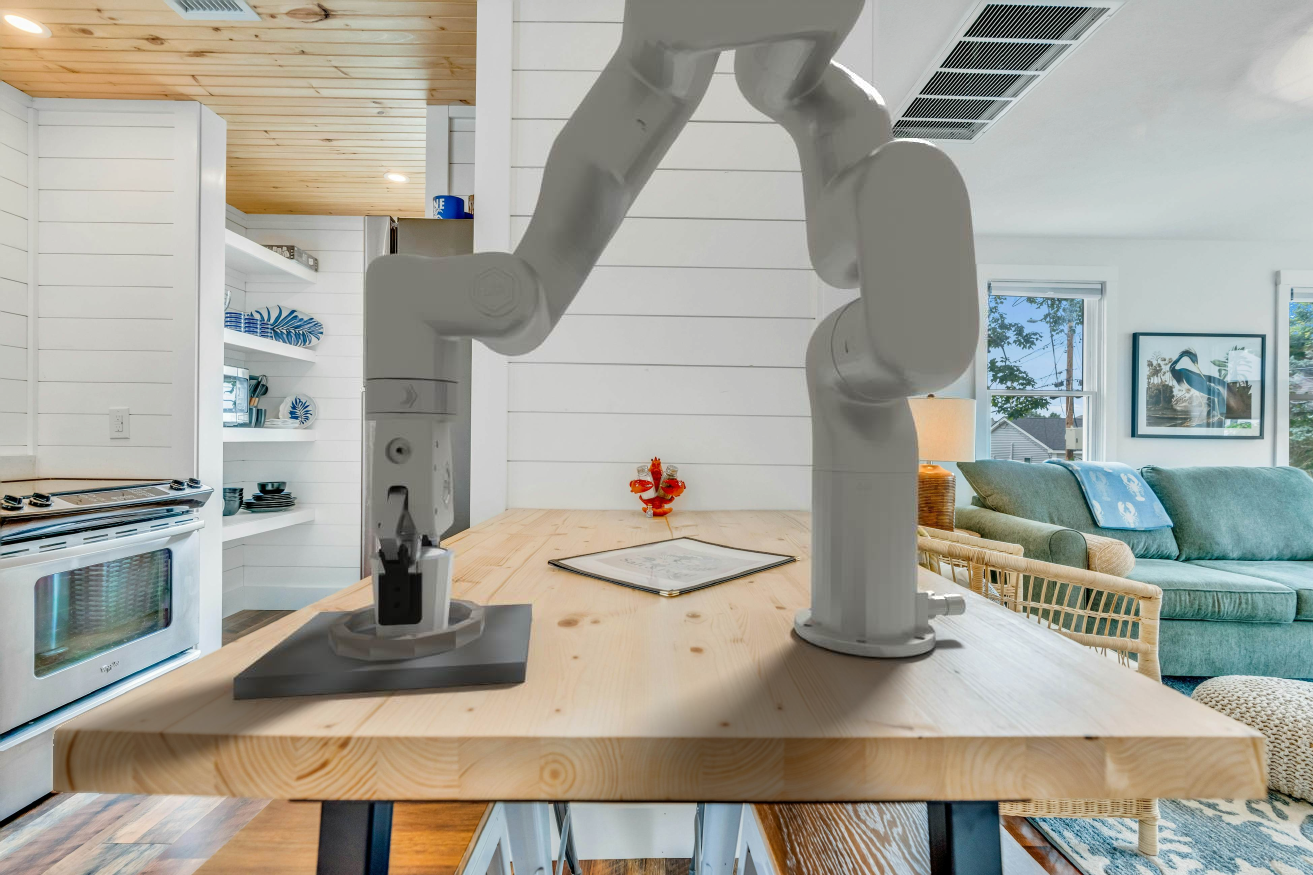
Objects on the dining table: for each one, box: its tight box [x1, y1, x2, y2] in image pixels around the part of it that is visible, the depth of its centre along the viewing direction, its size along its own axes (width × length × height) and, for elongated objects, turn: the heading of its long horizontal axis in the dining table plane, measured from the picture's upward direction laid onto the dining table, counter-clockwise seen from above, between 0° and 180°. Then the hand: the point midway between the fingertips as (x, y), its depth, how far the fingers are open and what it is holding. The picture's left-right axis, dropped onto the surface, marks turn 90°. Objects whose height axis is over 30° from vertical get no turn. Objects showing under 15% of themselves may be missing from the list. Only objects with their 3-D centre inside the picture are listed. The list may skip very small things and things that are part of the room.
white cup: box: [369, 546, 456, 636], centre depth 52 cm, size 7×7×7 cm
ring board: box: [232, 597, 533, 700], centre depth 52 cm, size 20×16×3 cm
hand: (412, 607), depth 52 cm, fingers open, 7 cm apart
